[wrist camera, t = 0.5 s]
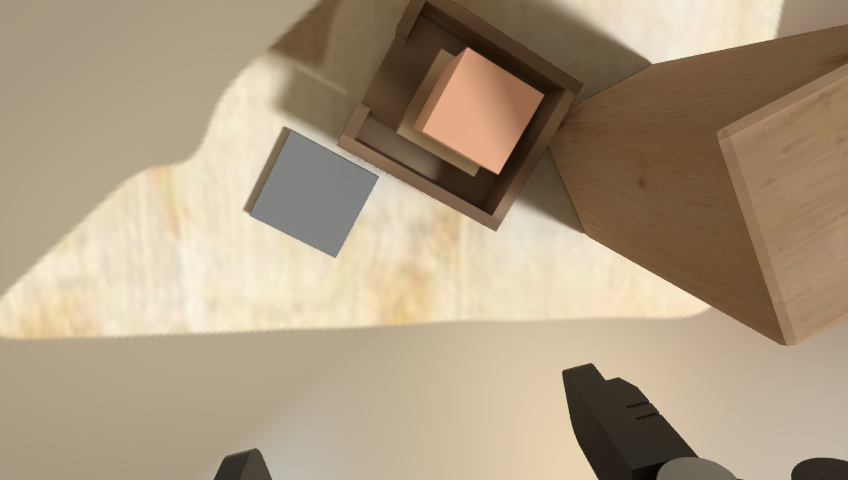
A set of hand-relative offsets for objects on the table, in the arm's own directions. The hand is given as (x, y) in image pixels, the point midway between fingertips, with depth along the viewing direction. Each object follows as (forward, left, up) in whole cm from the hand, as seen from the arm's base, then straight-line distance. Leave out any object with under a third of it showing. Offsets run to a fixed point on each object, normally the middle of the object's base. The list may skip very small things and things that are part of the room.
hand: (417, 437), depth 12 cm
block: (-9, 0, -22) cm, 24 cm away
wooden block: (-13, +13, -26) cm, 32 cm away
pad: (+1, -6, -26) cm, 27 cm away
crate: (-9, 0, -26) cm, 27 cm away
